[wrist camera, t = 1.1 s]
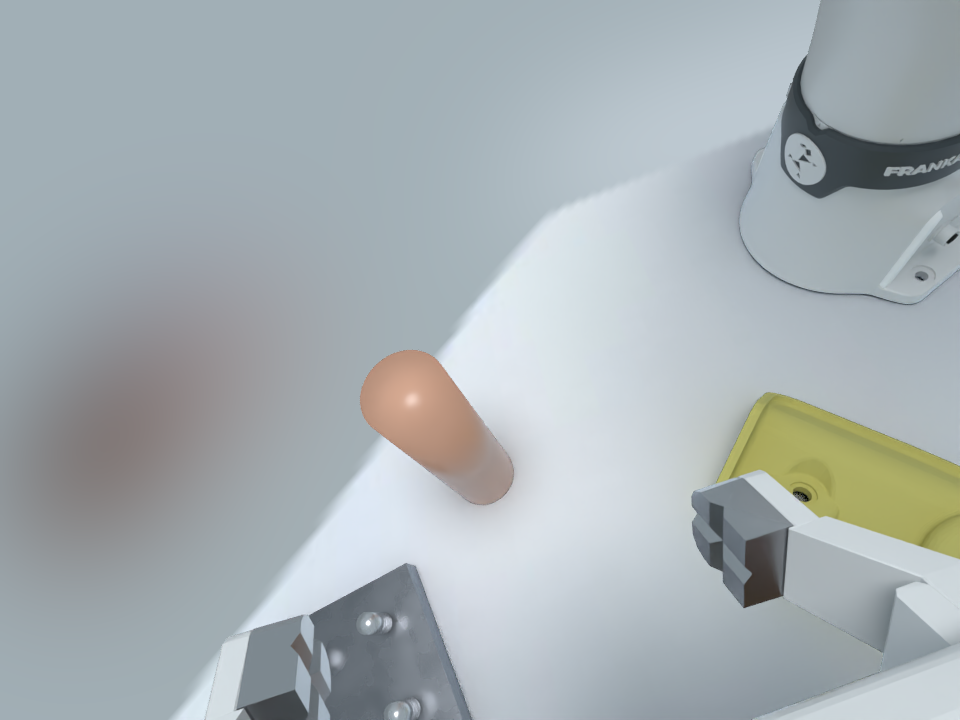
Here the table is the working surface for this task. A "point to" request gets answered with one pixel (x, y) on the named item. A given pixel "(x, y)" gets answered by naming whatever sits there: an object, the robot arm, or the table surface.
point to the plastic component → (851, 472)
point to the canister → (435, 425)
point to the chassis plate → (388, 654)
